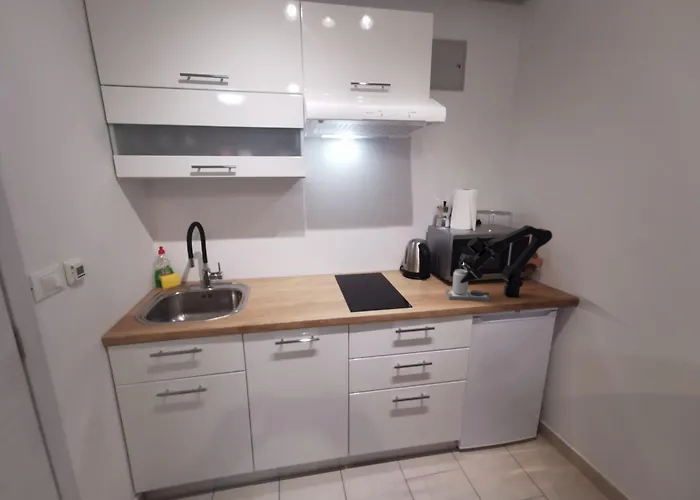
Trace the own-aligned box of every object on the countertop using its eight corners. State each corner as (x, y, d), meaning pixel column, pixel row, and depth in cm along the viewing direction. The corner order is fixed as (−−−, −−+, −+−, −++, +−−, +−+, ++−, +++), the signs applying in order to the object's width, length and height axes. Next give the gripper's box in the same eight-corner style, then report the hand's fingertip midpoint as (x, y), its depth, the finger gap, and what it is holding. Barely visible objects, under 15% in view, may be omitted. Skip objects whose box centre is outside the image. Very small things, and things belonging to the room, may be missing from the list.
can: (453, 294, 167) (455, 272, 164) (451, 289, 174) (452, 268, 172) (468, 295, 166) (470, 272, 164) (465, 290, 173) (467, 268, 171)
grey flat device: (485, 294, 174) (485, 289, 174) (491, 301, 164) (491, 296, 164) (445, 292, 176) (445, 287, 176) (449, 299, 167) (449, 294, 166)
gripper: (463, 244, 174) (441, 265, 176) (478, 252, 156) (454, 275, 158) (476, 258, 177) (455, 278, 178) (493, 268, 158) (469, 290, 160)
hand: (458, 280), depth 169 cm, fingers closed on can, 7 cm apart
